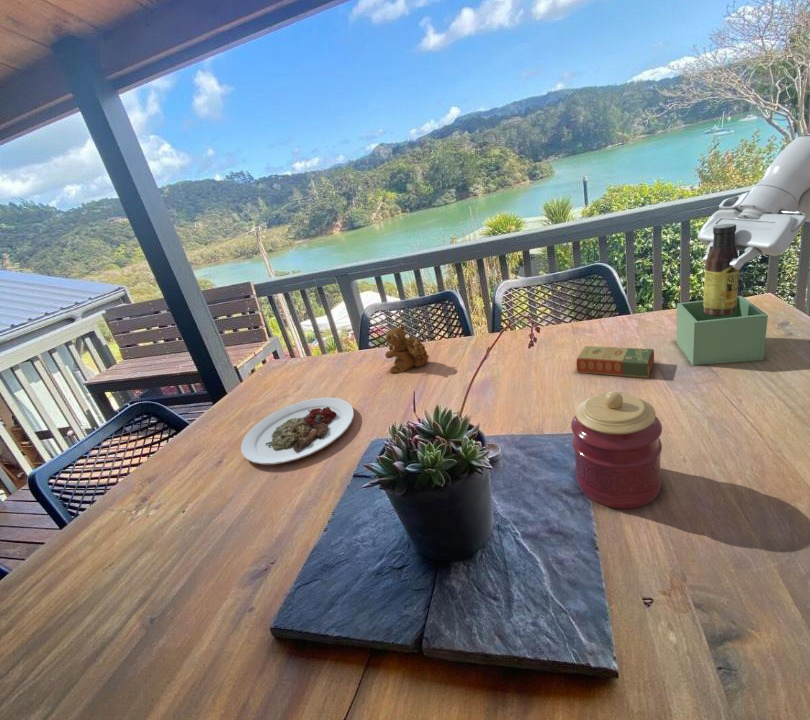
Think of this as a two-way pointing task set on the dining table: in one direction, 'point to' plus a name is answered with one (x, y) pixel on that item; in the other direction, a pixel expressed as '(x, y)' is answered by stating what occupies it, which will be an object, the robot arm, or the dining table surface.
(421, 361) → the stuffed squirrel
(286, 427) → the plated food
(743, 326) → the bin
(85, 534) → the dining table surface
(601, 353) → the carton
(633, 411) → the kitchen canister
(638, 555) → the dining table surface
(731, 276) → the sauce bottle
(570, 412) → the dining table surface
